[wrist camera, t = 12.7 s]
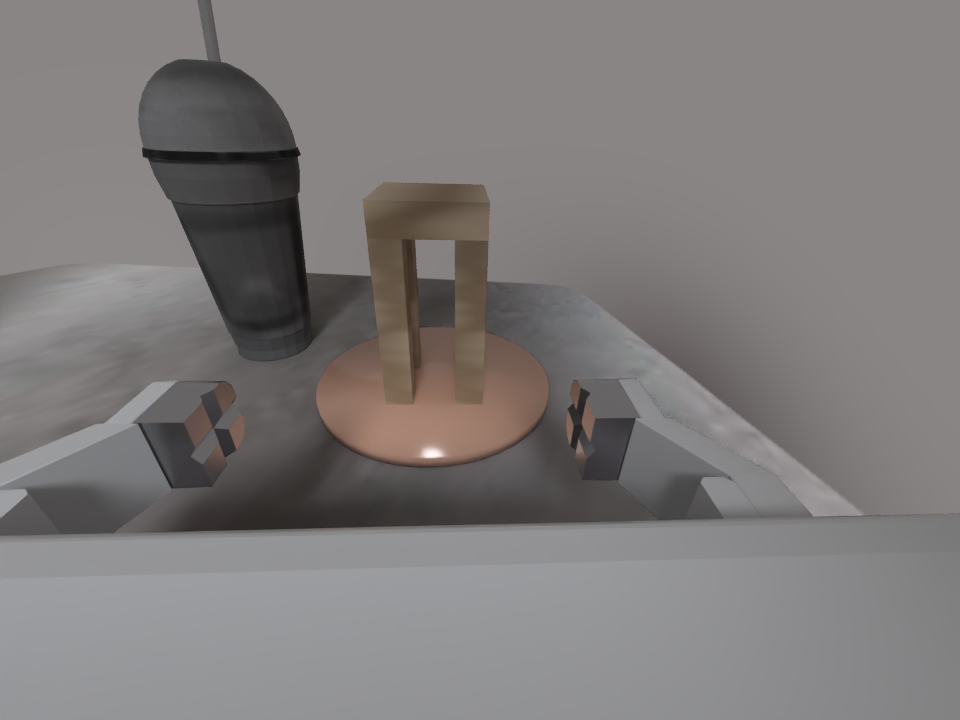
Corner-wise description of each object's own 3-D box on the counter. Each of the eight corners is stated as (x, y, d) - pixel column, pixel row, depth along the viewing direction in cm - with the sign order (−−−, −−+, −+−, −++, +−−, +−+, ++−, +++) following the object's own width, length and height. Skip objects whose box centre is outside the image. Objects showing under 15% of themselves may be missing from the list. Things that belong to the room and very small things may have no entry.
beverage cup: (266, 315, 31) (173, -39, 21) (352, 328, 30) (297, -45, 20) (186, 362, 25) (-1, -104, 15) (289, 381, 24) (161, -120, 14)
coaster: (279, 469, 18) (276, 459, 18) (349, 333, 29) (347, 326, 29) (572, 465, 19) (574, 456, 18) (530, 334, 30) (530, 327, 29)
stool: (385, 404, 21) (362, 200, 16) (398, 356, 25) (383, 182, 20) (482, 404, 21) (490, 202, 16) (478, 356, 26) (483, 184, 20)
